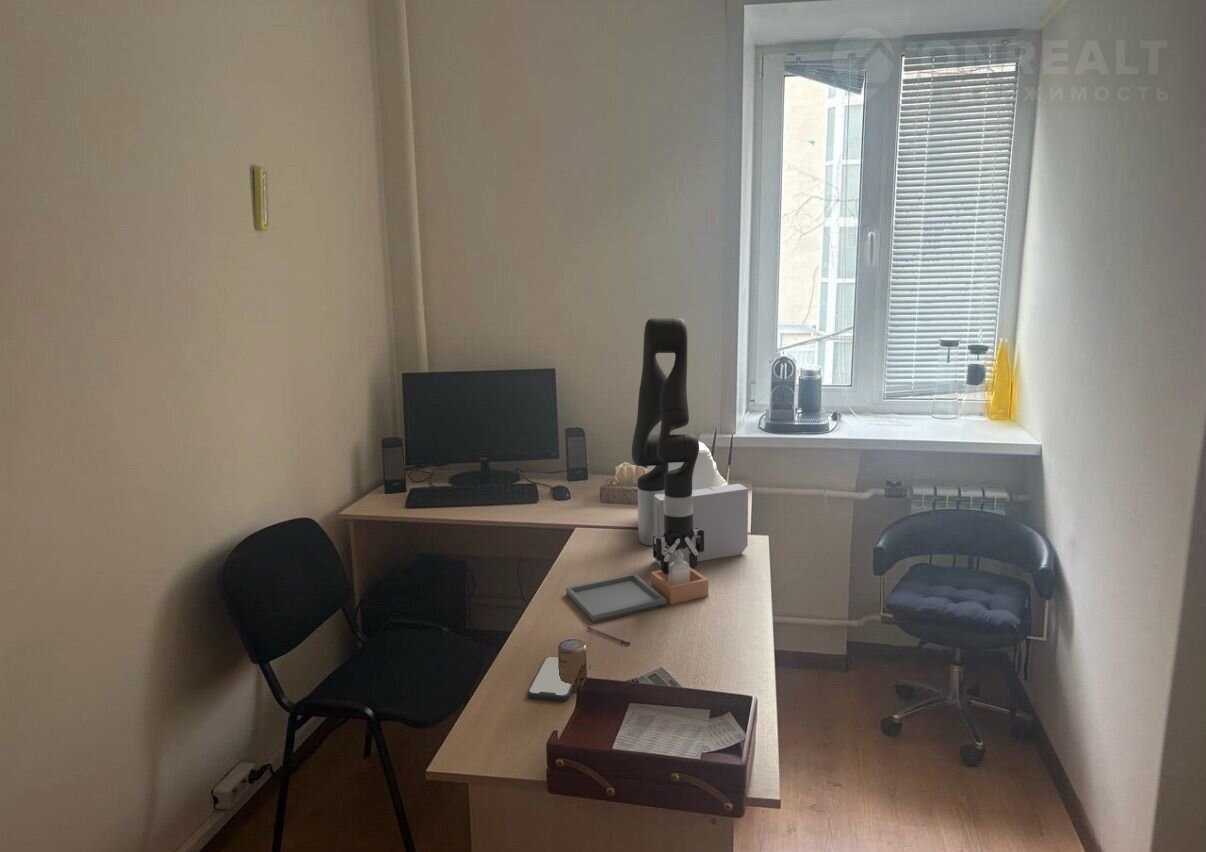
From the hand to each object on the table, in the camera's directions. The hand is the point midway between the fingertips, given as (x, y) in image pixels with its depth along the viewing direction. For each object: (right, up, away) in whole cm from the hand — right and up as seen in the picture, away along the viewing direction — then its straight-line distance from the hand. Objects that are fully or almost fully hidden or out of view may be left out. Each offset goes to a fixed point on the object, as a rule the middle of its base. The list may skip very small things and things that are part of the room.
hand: (679, 570), depth 206 cm
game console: (+9, -1, +24) cm, 26 cm away
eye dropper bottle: (0, -6, +1) cm, 6 cm away
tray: (-17, -7, -3) cm, 18 cm away
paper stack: (+8, +6, +54) cm, 55 cm away
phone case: (-30, -16, -39) cm, 52 cm away
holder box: (0, -6, +1) cm, 6 cm away
